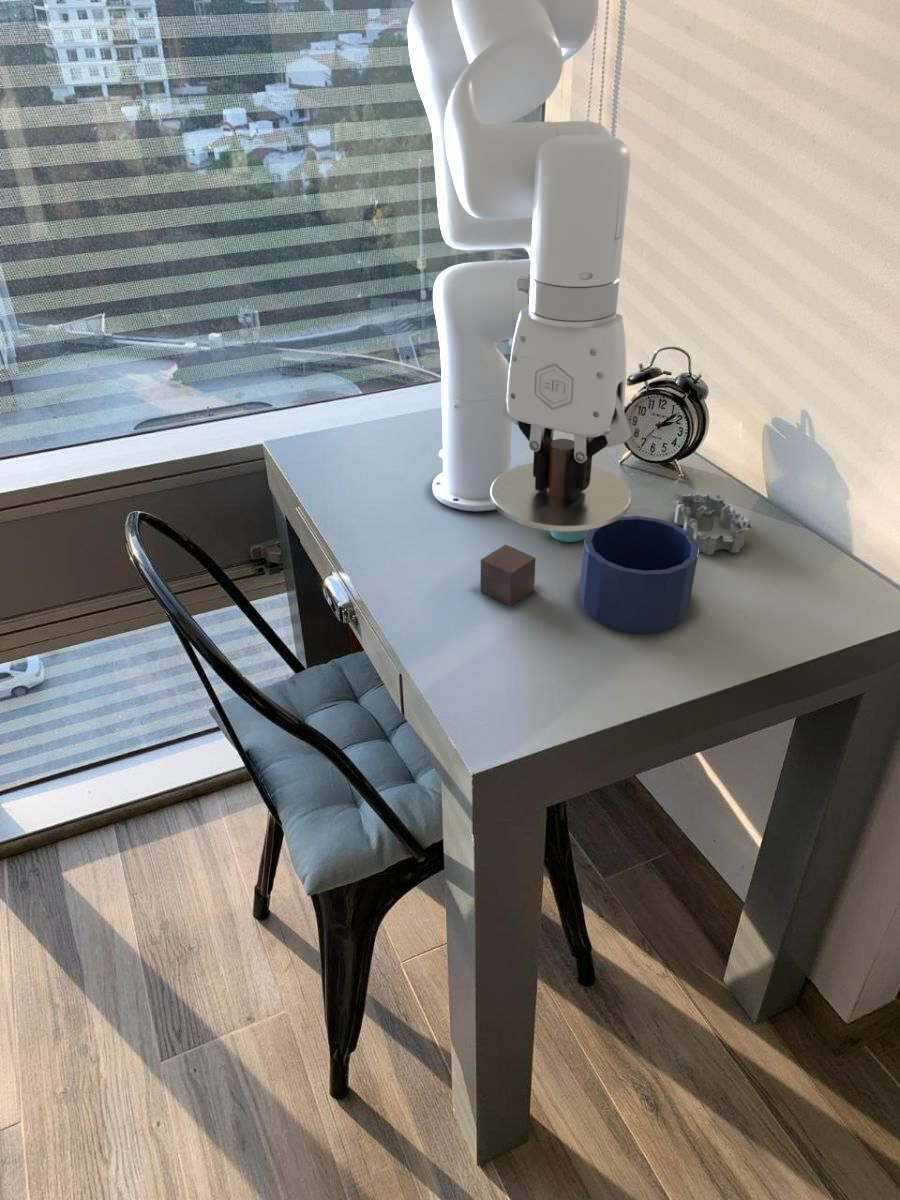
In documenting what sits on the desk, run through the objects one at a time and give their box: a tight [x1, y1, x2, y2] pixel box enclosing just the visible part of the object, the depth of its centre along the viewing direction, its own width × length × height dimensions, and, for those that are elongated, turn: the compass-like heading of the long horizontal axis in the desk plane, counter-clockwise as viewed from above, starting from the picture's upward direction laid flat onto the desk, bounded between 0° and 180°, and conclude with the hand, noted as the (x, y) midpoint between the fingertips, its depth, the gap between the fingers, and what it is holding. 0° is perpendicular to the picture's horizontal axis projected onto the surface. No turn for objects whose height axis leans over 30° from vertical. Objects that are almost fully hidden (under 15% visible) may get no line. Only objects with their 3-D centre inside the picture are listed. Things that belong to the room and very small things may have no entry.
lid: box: [491, 438, 632, 532], centre depth 86 cm, size 14×14×6 cm
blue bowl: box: [578, 515, 700, 635], centre depth 103 cm, size 13×13×8 cm
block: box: [479, 544, 537, 607], centre depth 106 cm, size 5×5×5 cm
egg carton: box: [673, 493, 752, 555], centre depth 117 cm, size 11×8×4 cm
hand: (560, 487), depth 87 cm, fingers closed on lid, 2 cm apart
